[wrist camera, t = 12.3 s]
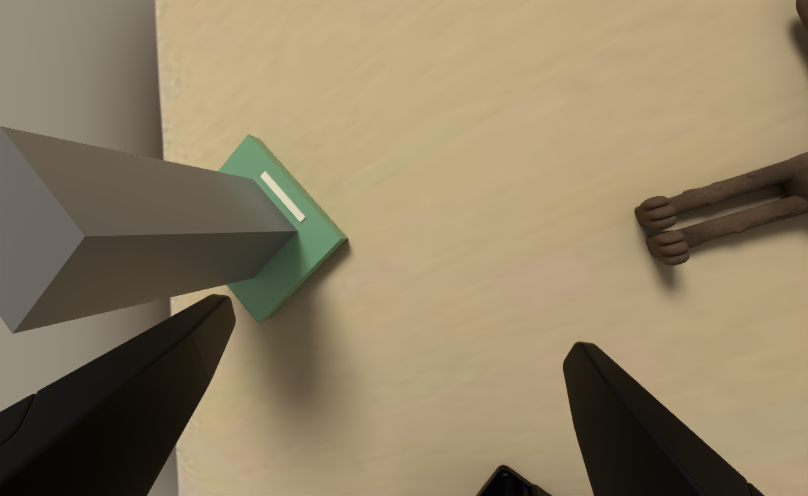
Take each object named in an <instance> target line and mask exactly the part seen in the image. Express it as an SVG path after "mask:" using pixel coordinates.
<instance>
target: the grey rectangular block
mask: <svg viewBox="0 0 808 496" xmlns="http://www.w3.org/2000/svg"><path fill="white" fill-rule="evenodd" d="M296 232H297V229H296V228H295V227H294V226H293V225H292V224H291V222H290V221H289V220H288V219H287V218H286V217H285V215H284V214H283V213H282V212H281V211H280V210H279V209H278V207H277V206H276V205H275V204H274V203H273V202H272V200H271V199H270V198H269V197H268V196H267V195H266V194H265V192H264V191H263V190H262V189H261V188H260V187H259V185H258V184H257V183H256V182H255V181H254V180H253V179H250V178H246V177H241V176H236V175H231V174H226V173H222V172H217V171H212V170H207V169H202V168H198V167H193V166H188V165H183V164H178V163H174V162H169V161H164V160H159V159H154V158H149V157H145V156H140V155H135V154H130V153H126V152H121V151H116V150H111V149H106V148H101V147H97V146H92V145H87V144H82V143H77V142H73V141H68V140H63V139H58V138H54V137H49V136H44V135H39V134H34V133H29V132H25V131H20V130H15V129H11V128H5V127H0V316H1V318H2V319H3V321H4V322H5V323H6V325H7V326H8V328H9V329H10V331H11V332H12V333H17V332H21V331H26V330H31V329H35V328H39V327H44V326H47V325H52V324H57V323H61V322H65V321H69V320H74V319H78V318H83V317H87V316H91V315H95V314H100V313H104V312H108V311H113V310H117V309H121V308H126V307H130V306H135V305H139V304H144V303H148V302H152V301H157V300H161V299H165V298H170V297H174V296H178V295H183V294H187V293H191V292H196V291H200V290H204V289H209V288H213V287H217V286H222V285H226V284H230V283H235V282H239V281H244V280H248V279H252V278H254V277H255V276H256V275H257V274H258V273H259V272H260V271H261V270H262V268H263V267H264V266H265V265H266V264H267V263H268V262H269V261H270V260H271V259H272V258H273V257H274V256H275V255H276V254H277V253H278V251H279V250H280V249H281V248H282V247H283V246H284V245H285V244H286V243H287V242H288V241H289V240H290V239H291V238H292V237H293V235H294V234H295V233H296Z"/></svg>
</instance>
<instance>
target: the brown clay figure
mask: <svg viewBox="0 0 808 496" xmlns="http://www.w3.org/2000/svg"><path fill="white" fill-rule="evenodd" d="M796 9H797V12H798V15H799V17H800V19H801V21H802V23H803V25H804V27H805V28H806V30H807V32H808V0H796ZM780 182H782V183H783V186H784V189H785V191H786V193H787V195H788V196H789V197H788V198H785V199H781V200H778V201H774V202H771V203H767V204H764V205H761V206H757V207H754V208H750V209H747V210H743V211H740V212H736V213H733V214H730V215H726V216H723V217H719V218H716V219H712V220H709V221H706V222H702V223H699V224H695V225H692V226H688V227H685V228H681V229H678V230H675V231H665V232H662V233H659V234H654V235H651V236H648V237H647V238H646V243H647V246H648V249H649V251H650V253H651V254H652V255H653V256H655V257H657V258H658V259H660V260H661V261H662V262H664V263H665V264H667V265H679V264H682V263H684V262H686V261H687V260H688V259H689V254H688V252H687V251H688V248H691V247H694V246H697V245H699V244H701V243H703V242H705V241H708V240H711V239H714V238H718V237H721V236H725V235H729V234H733V233H740V232H743V231H745V230H748V229H750V228H753V227H757V226H761V225H764V224H768V223H771V222H775V221H779V220H782V219H786V218H789V217H793V216H797V215H800V214H804V213H807V212H808V152H807V153H804V154H801V155H798V156H796V157H793V158H791V159H789V160H786V161H783V162H780V163H777V164H774V165H771V166H767V167H764V168H761V169H758V170H755V171H752V172H749V173H746V174H743V175H740V176H737V177H734V178H730V179H727V180H724V181H720V182H715V183H713V184H711V185H709V186H706V187H702V188H697V189H691V190H687V191H684V192H683V193H682V194H680V195H678V196H675V197H672V198H669V199H667V198H666V197H664V196H656V197H652V198H649V199H647V200H645V201H644V202H643V203H642V204H641V205H640V206H638V207H636V208H635V214H636V217H637V219H638V222H639V223H640V224H641V225H643V226H646V227H649V228H651V229H654V230H663V229H667V228H669V227H671V226H673V225H674V224H675V223H676V222H677V217H676V216H674V215H677V214H681V213H684V212H687V211H690V210H693V209H697V208H700V207H703V206H707V205H711V204H715V203H718V202H720V201H723V200H726V199H729V198H732V197H735V196H738V195H742V194H745V193H748V192H751V191H755V190H758V189H761V188H764V187H767V186H771V185H774V184H777V183H780Z"/></svg>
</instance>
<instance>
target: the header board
mask: <svg viewBox="0 0 808 496" xmlns="http://www.w3.org/2000/svg"><path fill="white" fill-rule="evenodd" d="M218 172H222V173H226V174H231V175H236V176H241V177H246V178H250V179H253V180H254V181H255V182H256V183H257V184H258V185H259V187H260V188H261V189H262V190H263V191H264V192H265V194H266V195H267V196H268V197H269V198H270V199H271V200H272V202H273V203H274V204H275V205H276V206H277V207H278V209H279V210H280V211H281V212H282V213H283V214H284V215H285V217H286V218H287V219H288V220H289V221H290V222H291V224H292V225H293V226H294V227H295V228H296V229H297V232H296V233H295V234H294V235H293V237H292V238H291V239H290V240H289V241H288V242H287V243H286V244H285V245H284V246H283V247H282V248H281V249H280V250H279V251H278V253H277V254H276V255H275V256H274V257H273V258H272V259H271V260H270V261H269V262H268V263H267V264H266V265H265V266H264V267H263V268H262V270H261V271H260V272H259V273H258V274H257V275H256V276H255V277H254V278H252V279H248V280H244V281H239V282H235V283H230V284H226V285H227V286H228V287H229V288H230V290H231V291H232V292H233V293H234V294H235V296H236V297H237V298H238V299H239V301H240V302H241V303H242V304H243V305H244V307H245V308H246V309H247V310H248V312H249V313H250V314H251V315H252V316H253V318H254V319H255V320H256V321H257V322H258V323H259V322H262V321H264V320H266V319H268V318H269V317H270V316H271V315H272V314H273V313H274V312H275V311H276V310H277V309H278V308H279V307H280V306H281V305H282V304H283V303H284V302H285V301H286V300H287V299H288V298H289V297H290V296H291V295H292V294H293V293H294V292H295V291H296V290H297V289H298V288H299V287H300V286H301V285H302V284H303V283H304V282H305V281H306V280H307V279H308V278H309V277H310V276H311V275H312V274H313V273H314V272H315V271H316V270H317V269H318V268H319V267H320V266H321V265H322V264H323V263H324V262H325V261H326V260H327V259H328V258H329V257H330V256H331V255H332V254H333V253H334V252H335V251H336V250H337V249H338V248H339V247H340V246H341V244H342V243H343V242H344V241H345V240H346V239H347V237H346V236H345V234H344V233H343V232H342V231H341V230H340V229H339V228H338V227H337V225H336V224H335V223H334V222H333V221H332V220H331V219H330V218H329V216H328V215H327V214H326V213H325V212H324V211H323V210H322V209H321V207H320V206H319V205H318V204H317V203H316V202H315V201H314V200H313V198H312V197H311V196H310V195H309V194H308V193H307V192H306V191H305V189H304V188H303V187H302V186H301V185H300V184H299V183H298V182H297V181H296V179H295V178H294V177H293V176H292V175H291V174H290V173H289V172H288V170H287V169H286V168H285V167H284V166H283V165H282V164H281V163H280V161H279V160H278V159H277V158H276V157H275V156H274V155H273V154H272V152H271V151H270V150H269V149H268V148H267V147H266V146H265V145H264V143H263V142H262V141H261V140H260V139H259V138H256V137H254V136H251V135H249V134H248V135H247V136H246V138H245V139H244V140H243V141H242V143H241V144H240V145H239V146H238V147H237V149H236V150H235V151H234V152H233V154H232V155H231V156H230V157H229V158H228V160H227V161H226V162H225V163H224V165H223V166H222V167H221V168H220V170H219V171H218Z"/></svg>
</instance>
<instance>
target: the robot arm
mask: <svg viewBox="0 0 808 496" xmlns="http://www.w3.org/2000/svg"><path fill="white" fill-rule="evenodd" d="M235 322H236V319H235V314H234V309H233V305H232V301H231V298H230V297H229V296H226V295H218V294H212V295H209V296H207V297H206V298H204V299H202V300H200V301H198V302H197V303H195V304H193V305H191V306H190V307H188V308H186V309H184V310H182V311H181V312H179V313H177V314H175V315H173V316H172V317H170V318H168V319H166V320H164V321H163V322H161V323H159V324H157V325H156V326H154V327H152V328H150V329H148V330H146V331H145V332H143V333H141V334H139V335H138V336H136V337H134V338H132V339H130V340H129V341H127V342H125V343H123V344H121V345H120V346H118V347H116V348H114V349H112V350H111V351H109V352H107V353H105V354H104V355H102V356H100V357H98V358H96V359H94V360H93V361H91V362H89V363H87V364H86V365H84V366H82V367H80V368H78V369H76V370H75V371H73V372H71V373H69V374H68V375H66V376H64V377H62V378H60V379H59V380H57V381H55V382H53V383H51V384H50V385H48V386H46V387H44V388H42V389H41V390H39V391H38V392H37V393H36V394H32V395H30V396H28V397H26V398H24V399H22V400H21V401H19V402H17V403H15V404H13V405H12V406H10V407H8V408H6V409H5V410H3V411H1V412H0V496H147V495H148V493H149V491H150V489H151V488H152V486H153V484H154V482H155V480H156V479H157V477H158V475H159V473H160V471H161V470H162V468H163V466H164V464H165V462H166V461H167V459H168V457H169V455H170V454H171V452H172V450H173V448H174V447H175V445H176V443H177V441H178V439H179V438H180V436H181V434H182V432H183V431H184V429H185V427H186V425H187V423H188V422H189V420H190V418H191V416H192V415H193V413H194V411H195V409H196V407H197V406H198V404H199V402H200V400H201V398H202V397H203V395H204V393H205V391H206V389H207V388H208V386H209V384H210V382H211V380H212V378H213V375H214V373H215V371H216V369H217V366H218V364H219V362H220V359H221V357H222V355H223V352H224V350H225V348H226V345H227V343H228V341H229V338H230V336H231V334H232V331H233V329H234V326H235ZM563 372H564V377H565V383H566V388H567V393H568V399H569V404H570V409H571V415H572V420H573V424H574V429H575V432H576V436H577V440H578V443H579V446H580V450H581V453H582V457H583V460H584V463H585V467H586V470H587V474H588V477H589V480H590V484H591V487H592V491H593V494H594V496H764V495H763V494H762V493H761V492H760V491H759V490H758V489H757V488H756V487H754V486H753V485H752V484H751V483H747V480H746V479H745V478H744V477H743V476H742V475H741V474H740V473H739V472H737V471H736V470H735V469H734V468H733V467H732V466H731V465H730V464H729V463H727V462H726V461H725V460H724V459H723V458H722V457H721V456H720V455H718V454H717V453H716V452H715V451H714V450H713V449H712V448H711V447H709V446H708V445H707V444H706V443H705V442H704V441H703V440H702V439H701V438H699V437H698V436H697V435H696V434H695V433H694V432H693V431H692V430H690V429H689V428H688V427H687V426H686V425H685V424H684V423H683V422H682V421H680V420H679V419H678V418H677V417H676V416H675V415H674V414H673V413H671V412H670V411H669V410H668V409H667V408H666V407H665V406H664V405H662V404H661V403H660V402H659V401H658V400H657V399H656V398H655V397H654V396H652V395H651V394H650V393H649V392H648V391H647V390H646V389H645V388H643V387H642V386H641V385H640V384H639V383H638V382H637V381H636V380H634V379H633V378H632V377H631V376H630V375H629V374H628V373H627V372H626V371H624V370H623V369H622V368H621V367H620V366H619V365H618V364H617V363H615V362H614V361H613V360H612V359H611V358H610V357H609V356H608V355H607V354H605V353H604V352H603V351H602V350H601V349H600V348H599V347H598V346H596V345H595V344H593V343H588V342H580V341H579V342H576V343H575V344H574V345H573V347H572V349H571V350H570V352H569V353H568V355H567V357H566V358H565V360H564V363H563ZM503 473H506V474H508V475H507V476H503V475H501V474H503ZM476 496H551V495H550V494H548V493H547V492H546V491H544V490H543V489H542V488H540V487H539V486H537V485H535V484H532V483H530V482H529V481H527V480H526V479H525V478H523V477H522V476H521V475H519V474H518V473H516V472H515V471H514V470H512V469H511V468H510V467H508V466H506V465H501V466H499V467H498V468H497V469H496V471H495V472H494V473H493V474H492V476H491V477H490V478H489V480H488V481H487V482H486V483H485V485H484V486H483V487H482V489H481V490H480V491H479V493H478V494H477V495H476Z"/></svg>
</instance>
